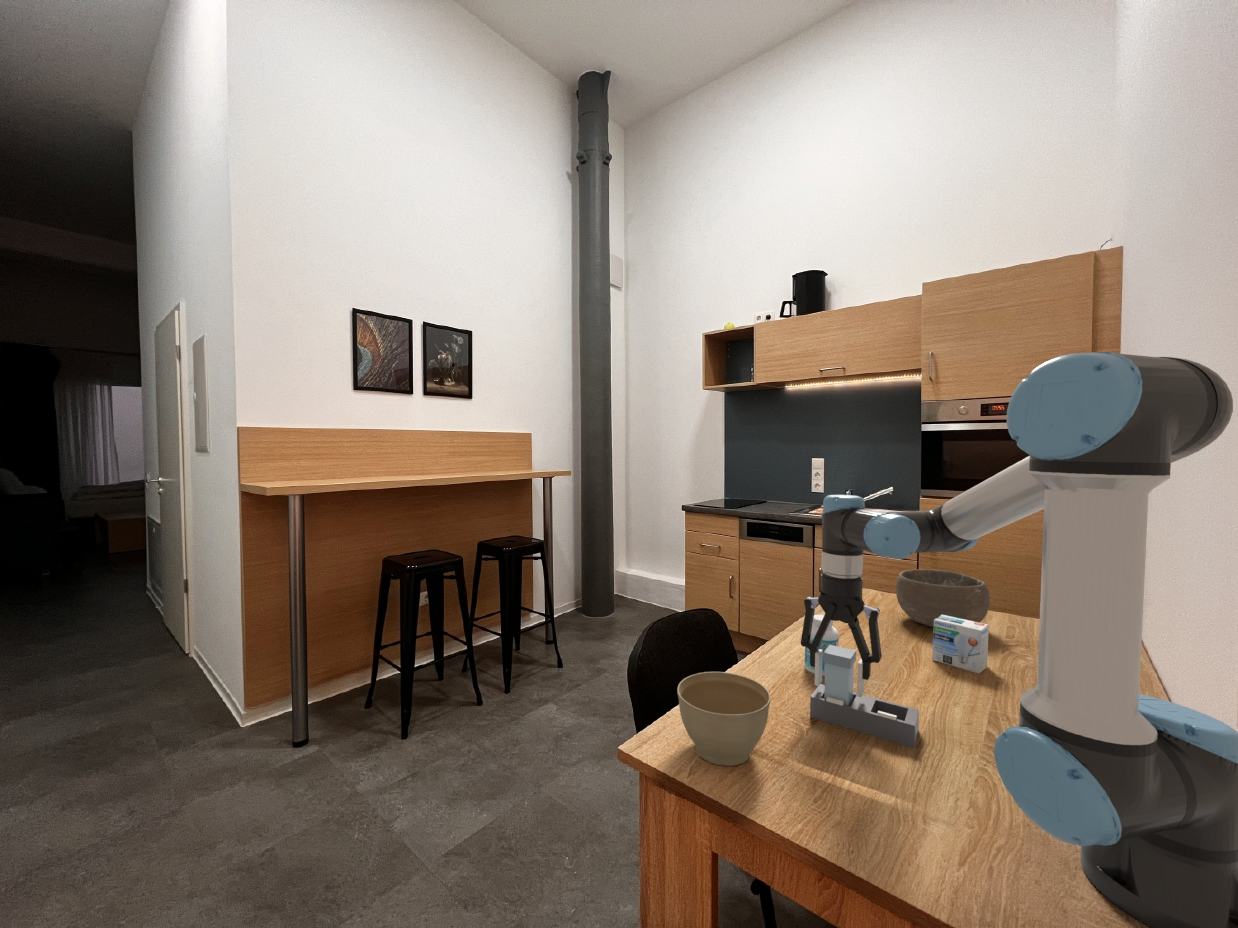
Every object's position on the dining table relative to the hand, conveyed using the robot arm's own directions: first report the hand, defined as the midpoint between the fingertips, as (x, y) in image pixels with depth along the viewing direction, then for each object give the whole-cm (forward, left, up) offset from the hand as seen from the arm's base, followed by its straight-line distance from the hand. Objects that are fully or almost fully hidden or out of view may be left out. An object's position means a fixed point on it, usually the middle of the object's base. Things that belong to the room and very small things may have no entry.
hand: (838, 688), depth 102 cm
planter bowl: (-23, +14, -7) cm, 28 cm away
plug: (0, 0, -6) cm, 6 cm away
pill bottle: (+21, +8, -7) cm, 24 cm away
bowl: (+79, -13, -7) cm, 80 cm away
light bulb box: (+48, -19, -7) cm, 52 cm away
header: (0, -5, -7) cm, 8 cm away
